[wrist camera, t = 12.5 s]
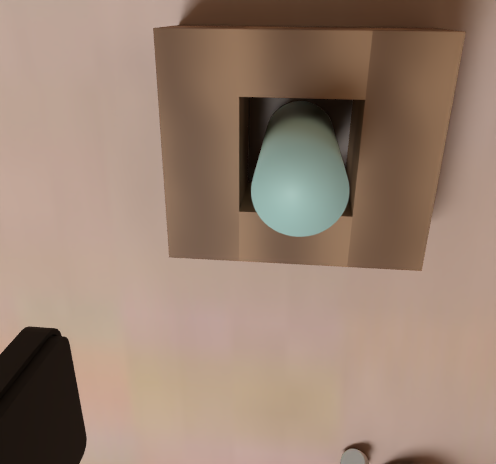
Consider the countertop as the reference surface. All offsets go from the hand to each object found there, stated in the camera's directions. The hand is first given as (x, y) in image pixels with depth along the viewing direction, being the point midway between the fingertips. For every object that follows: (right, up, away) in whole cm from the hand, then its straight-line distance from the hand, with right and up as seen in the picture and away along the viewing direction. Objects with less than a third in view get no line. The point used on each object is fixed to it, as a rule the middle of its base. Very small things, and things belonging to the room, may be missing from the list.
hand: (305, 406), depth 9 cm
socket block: (+2, +9, +19) cm, 22 cm away
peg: (+2, +9, +19) cm, 22 cm away
